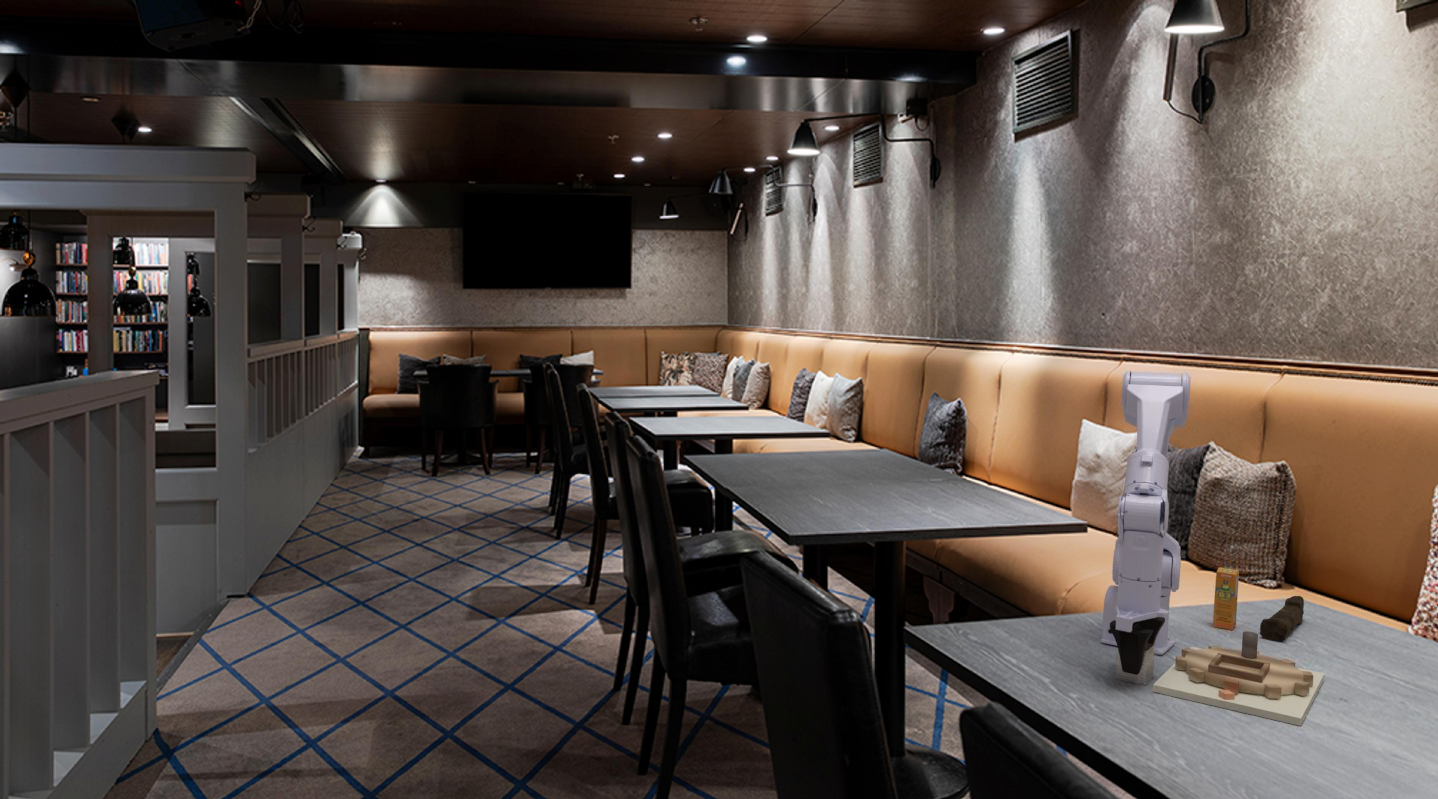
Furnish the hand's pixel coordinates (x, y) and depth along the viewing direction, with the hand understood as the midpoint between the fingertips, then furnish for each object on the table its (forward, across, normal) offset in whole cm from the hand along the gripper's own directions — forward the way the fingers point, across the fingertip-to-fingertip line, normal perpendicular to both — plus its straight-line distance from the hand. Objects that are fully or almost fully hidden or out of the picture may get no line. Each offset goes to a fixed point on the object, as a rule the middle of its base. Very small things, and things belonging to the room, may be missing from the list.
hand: (1135, 668), depth 141 cm
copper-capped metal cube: (+1, 0, 0) cm, 1 cm away
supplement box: (+2, +37, -4) cm, 37 cm away
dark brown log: (+2, +43, -12) cm, 45 cm away
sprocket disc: (0, +8, -13) cm, 15 cm away
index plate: (+1, +7, -12) cm, 14 cm away
